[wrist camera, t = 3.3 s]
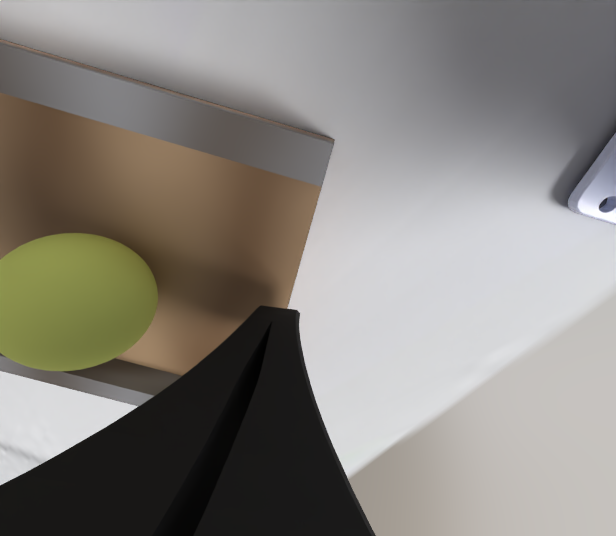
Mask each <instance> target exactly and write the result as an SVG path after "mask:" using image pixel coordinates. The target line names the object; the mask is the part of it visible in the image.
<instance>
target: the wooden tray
mask: <svg viewBox="0 0 616 536" xmlns="http://www.w3.org/2000/svg"><path fill="white" fill-rule="evenodd" d="M334 141H335V140H334V139H331V138H327V137H324V136H321V135H317V134H314V133H311V132H307V131H304V130H301V129H297V128H294V127H291V126H287V125H284V124H281V123H277V122H274V121H271V120H268V119H264V118H261V117H258V116H254V115H251V114H248V113H244V112H241V111H238V110H234V109H231V108H228V107H224V106H221V105H218V104H214V103H211V102H208V101H204V100H201V99H198V98H194V97H191V96H188V95H184V94H181V93H178V92H174V91H171V90H168V89H164V88H161V87H158V86H154V85H151V84H148V83H144V82H141V81H138V80H134V79H131V78H128V77H124V76H121V75H118V74H114V73H111V72H108V71H104V70H101V69H98V68H94V67H91V66H88V65H85V64H81V63H78V62H75V61H71V60H68V59H65V58H61V57H58V56H55V55H51V54H48V53H45V52H41V51H38V50H35V49H31V48H28V47H25V46H21V45H18V44H15V43H11V42H8V41H5V40H1V39H0V260H1V259H2V258H3V257H4V256H5V255H7V254H8V253H10V252H11V251H13V250H14V249H16V248H18V247H19V246H21V245H23V244H26V243H28V242H30V241H33V240H35V239H39V238H42V237H45V236H50V235H56V234H63V233H85V234H93V235H98V236H103V237H106V238H109V239H112V240H115V241H117V242H119V243H121V244H123V245H125V246H127V247H128V248H130V249H131V250H133V251H134V252H135V253H137V254H138V255H139V256H140V257H141V258H142V259H143V260H144V261H145V262H146V264H147V265H148V266H149V268H150V270H151V272H152V273H153V276H154V278H155V281H156V284H157V290H158V303H157V309H156V313H155V316H154V318H153V320H152V323H151V324H150V326H149V328H148V329H147V331H146V332H145V333H144V335H143V336H142V337H141V338H140V340H138V341H137V342H136V343H135V344H134V345H133V346H132V347H131V348H130V349H128V350H127V351H125V352H124V353H122V354H121V355H119V356H117V357H115V358H114V359H112V360H110V361H107V362H105V363H102V364H99V365H97V366H93V367H89V368H85V369H81V370H73V371H46V370H40V369H35V368H31V367H27V366H24V365H22V364H19V363H17V362H15V361H13V360H11V359H9V358H7V357H5V356H4V355H3V354H1V353H0V371H3V372H7V373H11V374H15V375H19V376H23V377H27V378H31V379H34V380H38V381H42V382H46V383H50V384H54V385H58V386H62V387H66V388H69V389H73V390H77V391H81V392H85V393H89V394H93V395H97V396H101V397H104V398H108V399H112V400H116V401H120V402H124V403H128V404H132V405H136V406H140V405H142V404H143V403H145V402H146V401H148V400H149V399H151V398H152V397H154V396H155V395H157V394H158V393H159V392H161V391H162V390H164V389H165V388H166V387H168V386H169V385H171V384H172V383H173V382H175V381H176V380H177V379H179V378H180V377H181V376H183V375H184V374H185V373H187V372H188V371H189V370H190V369H192V368H193V367H194V366H195V365H197V364H198V363H199V362H200V361H201V360H202V359H204V358H205V357H206V356H207V355H208V354H210V353H211V352H212V351H213V350H214V349H216V348H217V347H218V346H219V345H220V344H221V343H222V342H223V341H224V340H225V339H226V338H228V337H229V336H230V335H231V334H232V333H233V332H234V331H235V330H236V329H237V328H238V327H239V326H240V325H241V324H242V323H243V322H244V321H245V320H246V319H247V318H248V317H249V316H250V315H251V314H252V313H253V312H254V311H255V310H256V309H257V308H258V307H259V306H261V305H262V306H270V307H277V308H285V309H287V307H288V304H289V300H290V296H291V293H292V289H293V286H294V282H295V279H296V275H297V272H298V268H299V265H300V261H301V258H302V254H303V251H304V247H305V243H306V240H307V236H308V233H309V229H310V226H311V222H312V219H313V215H314V212H315V208H316V205H317V201H318V197H319V194H320V190H321V187H322V184H323V180H324V177H325V173H326V170H327V166H328V162H329V159H330V155H331V152H332V148H333V145H334Z"/></svg>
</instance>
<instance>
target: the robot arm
mask: <svg viewBox="0 0 616 536" xmlns="http://www.w3.org/2000/svg"><path fill="white" fill-rule="evenodd" d="M605 198H607V199H608V200H607V202H606V204H605V205H604V206H603V207H601V208H599V205H600V203H601V202H602V201H603V200H604V199H605ZM568 206H569V208H570V210H572V211H574V212H576V213H579V214H582V215H585V216H588V217H592V218H595V219H598V220H602V221H605V222H608V223H612V224H615V225H616V133H615V134H614V135H613V137H612V138H611V140H610V141H609V142H608V144H607V145H606V146H605V148H604V149H603V151H602V152H601V153H600V155H599V156H598V157H597V159H596V160H595V162H594V163H593V164H592V166H591V167H590V169H589V170H588V171H587V173H586V174H585V175H584V177H583V178H582V180H581V181H580V182H579V184H578V185H577V186H576V188H575V189H574V191H573V192H572V193H571V195H570V197H569V199H568ZM299 317H300V313H299V312H298V311H297V310H292V309H285V308H277V307H270V306H262V305H261V306H259V307H258V308H257V309H256V310H255V311H254V312H253V313H252V314H251V315H250V316H249V317H248V318H247V319H246V320H245V321H244V322H243V323H242V324H241V325H240V326H239V327H238V328H237V329H236V330H235V331H234V332H233V333H232V334H231V335H230V336H229V337H228V338H226V339H225V340H224V341H223V342H222V343H221V344H220V345H219V346H218V347H217V348H216V349H214V350H213V351H212V352H211V353H210V354H208V355H207V356H206V357H205V358H204V359H202V360H201V361H200V362H199V363H198V364H197V365H195V366H194V367H193V368H192V369H190V370H189V371H188V372H187V373H185V374H184V375H183V376H181V377H180V378H179V379H177V380H176V381H175V382H173V383H172V384H171V385H169V386H168V387H166V388H165V389H164V390H162V391H161V392H159V393H158V394H157V395H155V396H154V397H152V398H151V399H149V400H148V401H146V402H145V403H143V404H142V405H140V406H139V407H137V408H136V409H134V410H133V411H131V412H129V413H128V414H126V415H125V416H123V417H122V418H120V419H118V420H117V421H115V422H114V423H112V424H110V425H109V426H107V427H106V428H104V429H102V430H100V431H99V432H97V433H95V434H93V435H92V436H90V437H88V438H87V439H85V440H83V441H81V442H80V443H78V444H76V445H74V446H73V447H71V448H69V449H67V450H66V451H64V452H62V453H61V454H59V455H57V456H55V457H53V458H52V459H50V460H48V461H46V462H44V463H43V464H41V465H39V466H37V467H35V468H33V469H31V470H29V471H28V472H26V473H24V474H22V475H20V476H18V477H16V478H14V479H12V480H10V481H8V482H6V483H4V484H2V485H0V536H376V535H375V533H374V532H373V530H372V528H371V526H370V524H369V522H368V520H367V518H366V516H365V514H364V512H363V510H362V508H361V506H360V504H359V502H358V500H357V498H356V496H355V494H354V492H353V490H352V488H351V485H350V483H349V481H348V478H347V476H346V474H345V472H344V469H343V467H342V465H341V463H340V461H339V458H338V456H337V454H336V452H335V449H334V447H333V445H332V443H331V440H330V438H329V435H328V433H327V430H326V428H325V425H324V422H323V420H322V417H321V414H320V412H319V409H318V406H317V403H316V400H315V397H314V394H313V391H312V388H311V384H310V381H309V377H308V374H307V370H306V366H305V362H304V357H303V352H302V347H301V341H300V333H299Z"/></svg>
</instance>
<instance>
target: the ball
mask: <svg viewBox="0 0 616 536" xmlns="http://www.w3.org/2000/svg"><path fill="white" fill-rule="evenodd" d="M157 303H158V290H157V284H156V281H155V278H154V276H153V273H152V272H151V270H150V268H149V266H148V265H147V264H146V262H145V261H144V260H143V259H142V258H141V257H140V256H139V255H138V254H137V253H135V252H134V251H133V250H131V249H130V248H128V247H127V246H125V245H123V244H121V243H119V242H117V241H115V240H112V239H109V238H106V237H103V236H98V235H93V234H85V233H63V234H56V235H50V236H45V237H42V238H39V239H35V240H33V241H30V242H28V243H26V244H23V245H21V246H19V247H18V248H16V249H14V250H13V251H11V252H10V253H8V254H7V255H5V256H4V257H3V258H2V259H1V260H0V353H1V354H3V355H4V356H5V357H7V358H9V359H11V360H13V361H15V362H17V363H19V364H22V365H24V366H27V367H31V368H35V369H40V370H46V371H73V370H81V369H85V368H89V367H93V366H97V365H99V364H102V363H105V362H107V361H110V360H112V359H114V358H115V357H117V356H119V355H121V354H122V353H124V352H125V351H127V350H128V349H130V348H131V347H132V346H133V345H134V344H135V343H136V342H137V341H138V340H140V338H141V337H142V336H143V335H144V333H145V332H146V331H147V329H148V328H149V326H150V324H151V323H152V320H153V318H154V316H155V313H156V309H157Z"/></svg>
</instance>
